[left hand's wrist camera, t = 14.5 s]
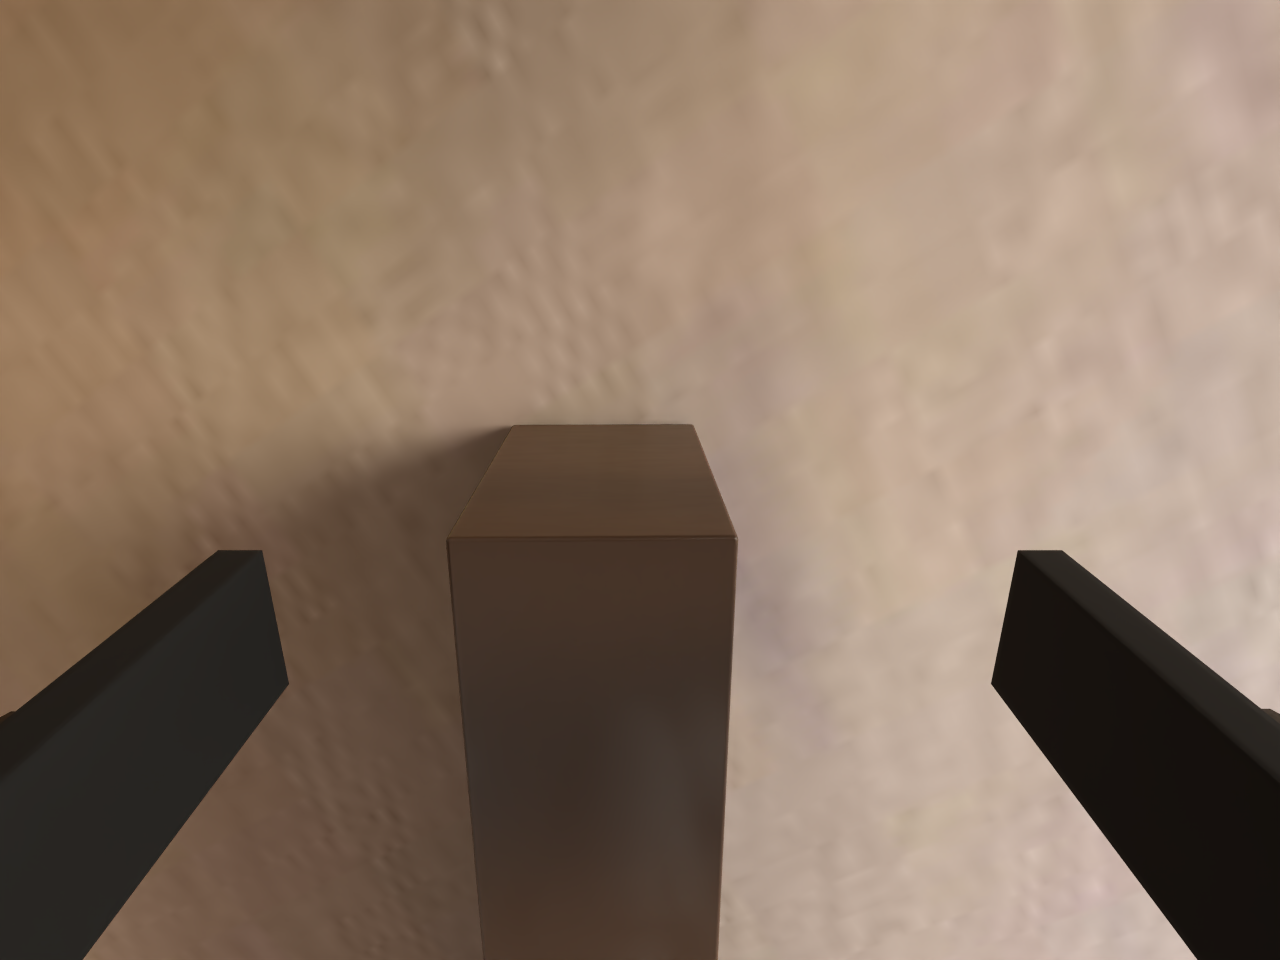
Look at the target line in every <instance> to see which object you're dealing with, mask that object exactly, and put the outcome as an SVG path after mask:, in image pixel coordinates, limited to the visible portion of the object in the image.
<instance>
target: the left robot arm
mask: <svg viewBox="0 0 1280 960" xmlns="http://www.w3.org/2000/svg"><path fill="white" fill-rule="evenodd" d="M288 684H289V682H288V677H287V672H286V667H285V662H284V657H283V652H282V647H281V642H280V637H279V632H278V627H277V622H276V617H275V612H274V607H273V602H272V597H271V592H270V587H269V582H268V577H267V572H266V567H265V562H264V557H263V552H262V550H218V551H217V552H215V553H214V554H213V555H212V556H210V557H209V558H208V559H207V560H205V561H204V562H203V563H202V564H200V565H199V566H198V567H197V568H195V569H194V570H193V571H192V572H190V573H189V574H188V575H186V576H185V577H184V578H183V579H181V580H180V581H179V582H178V583H176V584H175V585H174V586H173V587H171V588H170V589H169V590H168V591H166V592H165V593H164V594H163V595H161V596H160V597H159V598H158V599H156V600H155V601H154V602H153V603H151V604H150V605H149V606H148V607H146V608H145V609H144V610H143V611H141V612H140V613H139V614H137V615H136V616H135V617H134V618H132V619H131V620H130V621H129V622H127V623H126V624H125V625H124V626H122V627H121V628H120V629H119V630H117V631H116V632H115V633H114V634H112V635H111V636H110V637H109V638H107V639H106V640H105V641H104V642H102V643H101V644H100V645H99V646H97V647H96V648H95V649H94V650H92V651H91V652H90V653H89V654H87V655H86V656H85V657H83V658H82V659H81V660H80V661H78V662H77V663H76V664H75V665H73V666H72V667H71V668H70V669H68V670H67V671H66V672H65V673H63V674H62V675H61V676H60V677H58V678H57V679H56V680H55V681H53V682H52V683H51V684H50V685H48V686H47V687H46V688H45V689H43V690H42V691H41V692H40V693H38V694H37V695H36V696H34V697H33V698H32V699H31V700H29V701H28V702H27V703H26V704H24V705H23V706H22V707H21V708H19V709H18V710H17V711H11V712H9V713H7V714H5V715H3V716H2V717H0V960H83V958H84V957H85V956H86V954H87V953H88V952H89V950H90V949H91V948H92V946H93V945H94V944H95V942H96V941H97V940H98V938H99V937H100V936H101V934H102V933H103V932H104V930H105V929H106V928H107V926H108V925H109V924H110V922H111V921H112V920H113V918H114V917H115V916H116V914H117V913H118V912H119V910H120V909H121V908H122V906H123V905H124V904H125V902H126V901H127V900H128V898H129V897H130V896H131V894H132V893H133V892H134V890H135V889H136V888H137V886H138V885H139V884H140V882H141V881H142V880H143V878H144V877H145V876H146V874H147V873H148V872H149V870H150V869H151V867H152V866H153V865H154V863H155V862H156V861H157V859H158V858H159V857H160V855H161V854H162V853H163V851H164V850H165V849H166V847H167V846H168V845H169V843H170V842H171V841H172V839H173V838H174V837H175V835H176V834H177V833H178V831H179V830H180V829H181V827H182V826H183V825H184V823H185V822H186V821H187V819H188V818H189V817H190V815H191V814H192V813H193V811H194V810H195V809H196V807H197V806H198V805H199V803H200V802H201V801H202V799H203V798H204V797H205V795H206V794H207V793H208V791H209V790H210V789H211V787H212V786H213V785H214V783H215V782H216V781H217V779H218V778H219V777H220V775H221V774H222V773H223V771H224V770H225V769H226V767H227V766H228V765H229V763H230V762H231V761H232V759H233V758H234V757H235V755H236V754H237V753H238V751H239V750H240V749H241V747H242V746H243V745H244V743H245V742H246V740H247V739H248V738H249V736H250V735H251V734H252V732H253V731H254V730H255V728H256V727H257V726H258V724H259V723H260V722H261V720H262V719H263V718H264V716H265V715H266V714H267V712H268V711H269V710H270V708H271V707H272V706H273V704H274V703H275V702H276V700H277V699H278V698H279V696H280V695H281V694H282V692H283V691H284V690H285V688H286V687H287V686H288ZM991 684H992V686H993V687H994V688H995V690H996V691H997V692H998V694H999V695H1000V696H1001V698H1002V699H1003V700H1004V702H1005V703H1006V704H1007V706H1008V707H1009V708H1010V710H1011V711H1012V712H1013V714H1014V715H1015V716H1016V718H1017V719H1018V720H1019V722H1020V723H1021V724H1022V726H1023V727H1024V728H1025V730H1026V731H1027V732H1028V734H1029V735H1030V736H1031V738H1032V739H1033V740H1034V742H1035V743H1036V745H1037V746H1038V747H1039V749H1040V750H1041V751H1042V753H1043V754H1044V755H1045V757H1046V758H1047V759H1048V761H1049V762H1050V763H1051V765H1052V766H1053V767H1054V769H1055V770H1056V771H1057V773H1058V774H1059V775H1060V777H1061V778H1062V779H1063V781H1064V782H1065V783H1066V785H1067V786H1068V787H1069V789H1070V790H1071V791H1072V793H1073V794H1074V795H1075V797H1076V798H1077V799H1078V801H1079V802H1080V803H1081V805H1082V806H1083V807H1084V809H1085V810H1086V811H1087V813H1088V814H1089V815H1090V817H1091V818H1092V819H1093V821H1094V822H1095V823H1096V825H1097V826H1098V827H1099V829H1100V830H1101V831H1102V833H1103V834H1104V835H1105V837H1106V838H1107V839H1108V841H1109V842H1110V843H1111V845H1112V846H1113V847H1114V849H1115V850H1116V851H1117V853H1118V854H1119V855H1120V857H1121V858H1122V859H1123V861H1124V862H1125V863H1126V865H1127V866H1128V867H1129V869H1130V870H1131V872H1132V873H1133V874H1134V876H1135V877H1136V878H1137V880H1138V881H1139V882H1140V884H1141V885H1142V886H1143V888H1144V889H1145V890H1146V892H1147V893H1148V894H1149V896H1150V897H1151V898H1152V900H1153V901H1154V902H1155V904H1156V905H1157V906H1158V908H1159V909H1160V910H1161V912H1162V913H1163V914H1164V916H1165V917H1166V918H1167V920H1168V921H1169V922H1170V924H1171V925H1172V926H1173V928H1174V929H1175V930H1176V932H1177V933H1178V934H1179V936H1180V937H1181V938H1182V940H1183V941H1184V942H1185V944H1186V945H1187V946H1188V948H1189V949H1190V950H1191V952H1192V953H1193V954H1194V956H1195V957H1196V958H1197V960H1280V714H1279V713H1277V712H1275V711H1273V710H1271V709H1261V708H1259V707H1258V706H1257V705H1256V704H1254V703H1253V702H1252V701H1251V700H1249V699H1248V698H1247V697H1246V696H1244V695H1243V694H1242V693H1240V692H1239V691H1238V690H1237V689H1235V688H1234V687H1233V686H1232V685H1230V684H1229V683H1228V682H1227V681H1225V680H1224V679H1223V678H1222V677H1220V676H1219V675H1218V674H1217V673H1215V672H1214V671H1213V670H1212V669H1210V668H1209V667H1208V666H1207V665H1205V664H1204V663H1203V662H1202V661H1200V660H1199V659H1198V658H1197V657H1195V656H1194V655H1193V654H1191V653H1190V652H1189V651H1188V650H1186V649H1185V648H1184V647H1183V646H1181V645H1180V644H1179V643H1178V642H1176V641H1175V640H1174V639H1173V638H1171V637H1170V636H1169V635H1168V634H1166V633H1165V632H1164V631H1163V630H1161V629H1160V628H1159V627H1158V626H1156V625H1155V624H1154V623H1153V622H1151V621H1150V620H1149V619H1148V618H1146V617H1145V616H1144V615H1143V614H1141V613H1140V612H1139V611H1137V610H1136V609H1135V608H1134V607H1132V606H1131V605H1130V604H1129V603H1127V602H1126V601H1125V600H1124V599H1122V598H1121V597H1120V596H1119V595H1117V594H1116V593H1115V592H1114V591H1112V590H1111V589H1110V588H1109V587H1107V586H1106V585H1105V584H1104V583H1102V582H1101V581H1100V580H1099V579H1097V578H1096V577H1095V576H1094V575H1092V574H1091V573H1090V572H1088V571H1087V570H1086V569H1085V568H1083V567H1082V566H1081V565H1080V564H1078V563H1077V562H1076V561H1075V560H1073V559H1072V558H1071V557H1070V556H1068V555H1067V554H1066V553H1065V552H1063V551H1062V550H1018V552H1017V557H1016V562H1015V567H1014V572H1013V577H1012V582H1011V587H1010V592H1009V597H1008V602H1007V607H1006V612H1005V617H1004V622H1003V627H1002V632H1001V637H1000V642H999V647H998V652H997V657H996V662H995V667H994V672H993V677H992V682H991Z"/></svg>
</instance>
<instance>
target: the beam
mask: <svg viewBox="0 0 1280 960" xmlns="http://www.w3.org/2000/svg"><path fill="white" fill-rule="evenodd" d="M446 546H447V557H448V568H449V579H450V590H451V601H452V613H453V624H454V635H455V646H456V657H457V668H458V679H459V690H460V702H461V713H462V724H463V735H464V746H465V757H466V768H467V780H468V791H469V802H470V813H471V824H472V835H473V846H474V858H475V869H476V880H477V891H478V902H479V913H480V924H481V936H482V947H483V958H484V960H718V944H719V923H720V902H721V881H722V861H723V840H724V819H725V798H726V778H727V757H728V736H729V715H730V695H731V674H732V653H733V632H734V612H735V591H736V570H737V549H738V537H737V535H736V532H735V530H734V527H733V525H732V522H731V520H730V517H729V514H728V512H727V509H726V507H725V504H724V502H723V499H722V497H721V494H720V492H719V489H718V487H717V484H716V482H715V479H714V476H713V474H712V471H711V469H710V466H709V464H708V461H707V459H706V456H705V454H704V451H703V449H702V446H701V443H700V441H699V438H698V436H697V433H696V431H695V428H694V426H693V425H514V426H513V427H512V428H511V430H510V432H509V433H508V435H507V437H506V438H505V440H504V442H503V444H502V445H501V447H500V449H499V450H498V452H497V454H496V456H495V457H494V459H493V461H492V462H491V464H490V466H489V467H488V469H487V471H486V473H485V474H484V476H483V478H482V479H481V481H480V483H479V485H478V486H477V488H476V490H475V491H474V493H473V495H472V497H471V498H470V500H469V502H468V503H467V505H466V507H465V508H464V510H463V512H462V514H461V515H460V517H459V519H458V520H457V522H456V524H455V526H454V527H453V529H452V531H451V532H450V534H449V536H448V537H447V540H446Z"/></svg>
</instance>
